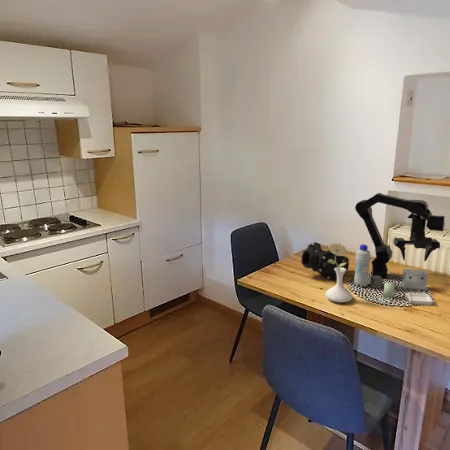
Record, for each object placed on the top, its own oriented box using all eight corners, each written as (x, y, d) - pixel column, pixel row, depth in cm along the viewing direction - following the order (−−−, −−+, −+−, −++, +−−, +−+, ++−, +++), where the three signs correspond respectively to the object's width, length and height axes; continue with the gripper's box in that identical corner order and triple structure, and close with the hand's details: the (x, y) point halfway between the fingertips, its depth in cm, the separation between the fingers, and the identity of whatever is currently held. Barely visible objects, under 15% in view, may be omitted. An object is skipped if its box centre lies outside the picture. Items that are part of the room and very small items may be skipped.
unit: (402, 289, 177) (404, 273, 175) (399, 284, 182) (401, 268, 180) (427, 291, 175) (429, 274, 173) (423, 286, 180) (425, 269, 178)
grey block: (373, 287, 180) (374, 279, 179) (370, 284, 184) (370, 276, 183) (382, 287, 180) (383, 279, 179) (378, 283, 184) (379, 275, 183)
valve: (326, 240, 216) (357, 255, 187) (319, 265, 218) (349, 284, 190) (291, 234, 209) (318, 248, 181) (284, 260, 212) (310, 278, 183)
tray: (410, 304, 163) (410, 300, 162) (405, 295, 170) (405, 292, 170) (433, 305, 161) (433, 302, 161) (427, 297, 169) (428, 293, 168)
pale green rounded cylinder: (384, 298, 169) (385, 285, 167) (382, 294, 172) (383, 282, 171) (394, 299, 168) (395, 286, 166) (392, 295, 172) (393, 282, 170)
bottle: (361, 289, 178) (364, 247, 173) (350, 284, 184) (353, 243, 179) (371, 286, 181) (375, 245, 176) (360, 281, 187) (363, 241, 182)
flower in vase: (358, 300, 167) (362, 245, 161) (339, 307, 161) (343, 250, 155) (334, 290, 178) (337, 237, 171) (316, 296, 172) (319, 242, 166)
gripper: (400, 232, 172) (397, 265, 176) (446, 233, 168) (441, 267, 172) (394, 225, 182) (391, 257, 186) (437, 227, 179) (434, 259, 183)
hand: (414, 260), depth 182 cm, fingers open, 9 cm apart
